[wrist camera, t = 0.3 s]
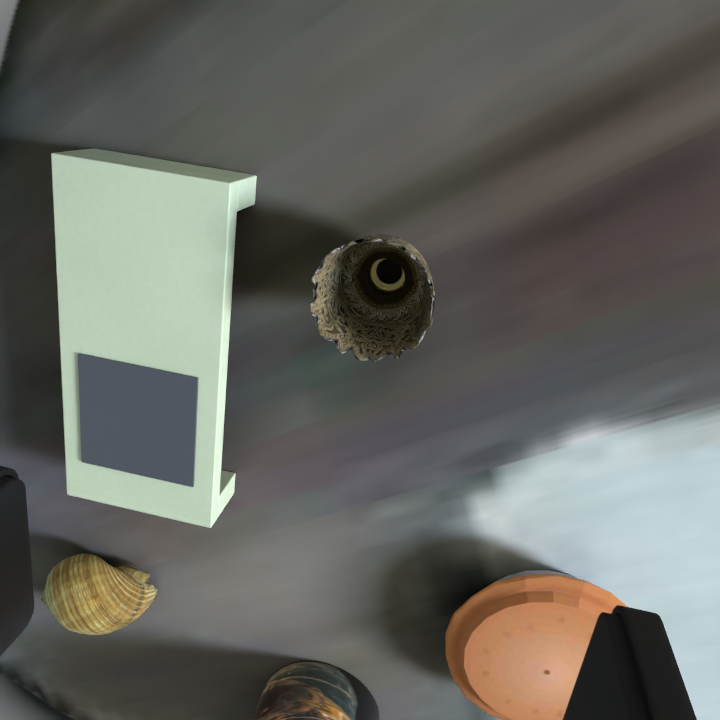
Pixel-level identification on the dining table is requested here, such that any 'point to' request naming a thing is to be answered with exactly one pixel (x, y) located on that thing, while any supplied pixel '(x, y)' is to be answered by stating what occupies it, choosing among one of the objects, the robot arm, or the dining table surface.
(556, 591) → the pie
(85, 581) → the seashell
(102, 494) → the shelf
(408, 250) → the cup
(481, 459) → the dining table surface
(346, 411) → the dining table surface
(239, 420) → the dining table surface
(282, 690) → the jar
